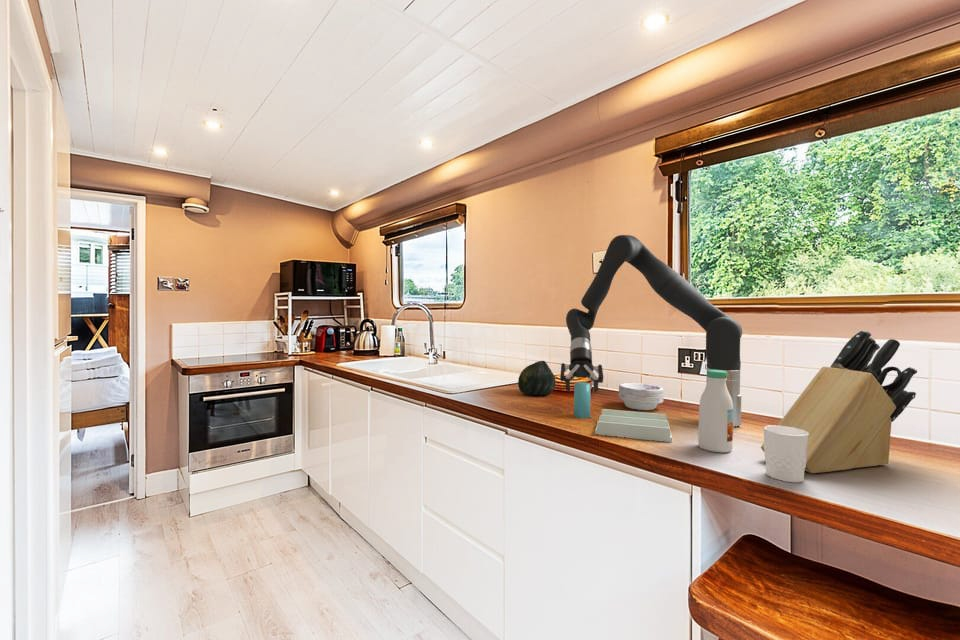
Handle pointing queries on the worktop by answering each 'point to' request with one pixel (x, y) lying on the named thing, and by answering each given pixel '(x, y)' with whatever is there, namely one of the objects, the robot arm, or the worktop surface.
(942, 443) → the worktop surface
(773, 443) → the white cup
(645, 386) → the paper bowls
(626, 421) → the rack
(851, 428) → the knife block
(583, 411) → the teal rounded upright block
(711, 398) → the milk bottle
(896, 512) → the worktop surface
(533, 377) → the squash
